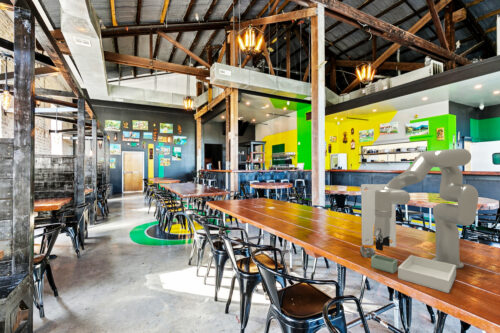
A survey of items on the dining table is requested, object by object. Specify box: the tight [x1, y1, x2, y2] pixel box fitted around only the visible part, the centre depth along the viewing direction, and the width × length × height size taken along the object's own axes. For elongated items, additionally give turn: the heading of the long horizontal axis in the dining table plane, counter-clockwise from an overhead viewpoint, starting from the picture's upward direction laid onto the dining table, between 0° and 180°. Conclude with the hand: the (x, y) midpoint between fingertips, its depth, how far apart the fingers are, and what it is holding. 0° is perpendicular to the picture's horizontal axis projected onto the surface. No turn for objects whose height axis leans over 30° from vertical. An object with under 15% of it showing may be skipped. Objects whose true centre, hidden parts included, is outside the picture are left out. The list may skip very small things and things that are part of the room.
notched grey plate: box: [360, 183, 397, 248], centre depth 160 cm, size 20×14×40 cm
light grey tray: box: [397, 254, 457, 294], centre depth 109 cm, size 22×18×5 cm
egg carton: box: [359, 244, 377, 259], centre depth 138 cm, size 11×8×4 cm
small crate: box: [370, 254, 398, 274], centre depth 119 cm, size 6×10×5 cm, turn 43°
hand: (382, 247), depth 119 cm, fingers open, 9 cm apart
